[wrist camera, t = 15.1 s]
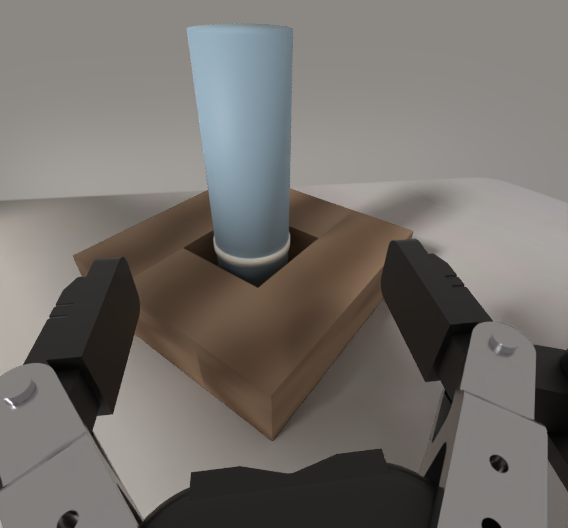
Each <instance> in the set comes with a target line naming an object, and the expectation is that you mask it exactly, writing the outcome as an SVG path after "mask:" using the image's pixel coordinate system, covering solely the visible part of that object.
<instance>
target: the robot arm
mask: <svg viewBox="0 0 568 528" xmlns="http://www.w3.org/2000/svg"><path fill="white" fill-rule="evenodd" d="M381 291H382V295H383V297H384V300H385V302H386V304H387V306H388V308H389V310H390V312H391V314H392V316H393V318H394V320H395V322H396V324H397V326H398V328H399V330H400V332H401V334H402V336H403V338H404V340H405V342H406V344H407V346H408V348H409V350H410V352H411V354H412V356H413V358H414V360H415V362H416V364H417V366H418V368H419V370H420V372H421V374H422V376H423V378H424V380H425V382H430V381H439V380H440V381H441V382H442V384H443V386H444V389H443V391H442V394H441V397H440V401H439V405H438V409H437V412H436V416H435V420H434V424H433V428H432V432H431V435H430V439H429V443H428V447H427V450H426V453H425V456H424V459H423V461H422V464H421V466H420V469H419V472H418V474H417V473H416V472H414V471H411V470H409V469H407V468H404V467H402V466H398V465H395V464H391V463H386V461H385V458H384V455H383V452H382V449H374V450H366V451H358V452H350V453H342V454H336V455H334V456H331V457H329V458H327V459H324V460H322V461H320V462H318V463H315V464H313V465H311V466H308V467H306V468H304V469H301V470H299V471H297V472H294V473H289V474H287V473H280V472H273V471H267V470H260V469H254V468H247V467H241V466H238V467H231V468H223V469H215V470H207V471H199V472H191V481H190V487H189V488H187V489H185V490H183V491H181V492H179V493H177V494H175V495H174V496H172V497H170V498H169V499H168V500H166V501H165V502H163V503H162V504H161V505H159V506H158V507H157V508H156V509H155V510H154V511H153V512H152V513H150V514H149V515H148V516H147V517H146V518H145V519H143V517H142V515H141V514H140V512H139V510H138V509H137V507H136V505H135V503H134V502H133V500H132V499H131V497H130V495H129V494H128V492H127V490H126V489H125V487H124V485H123V483H122V481H121V480H120V478H119V476H118V474H117V473H116V471H115V469H114V467H113V465H112V464H111V462H110V460H109V458H108V457H107V455H106V453H105V451H104V449H103V448H102V446H101V444H100V442H99V441H98V439H97V437H96V435H95V433H94V432H93V427H94V424H95V420H96V417H97V416H100V415H110V414H113V412H114V408H115V404H116V401H117V397H118V393H119V389H120V386H121V382H122V378H123V375H124V371H125V367H126V363H127V360H128V356H129V352H130V348H131V345H132V341H133V337H134V334H135V330H136V326H137V322H138V319H139V314H140V300H139V295H138V292H137V289H136V286H135V283H134V280H133V277H132V274H131V271H130V268H129V265H128V262H127V260H126V259H125V258H124V257H115V258H100V259H95V260H94V262H93V264H92V266H91V268H90V270H89V272H88V274H87V276H86V277H77V278H76V279H75V280H74V281H73V282H72V283H71V284H70V285H69V286H67V287H66V288H65V289H64V290H63V292H62V294H61V295H60V297H59V299H58V301H57V303H56V307H54V308H53V310H52V312H51V314H50V316H49V317H50V319H48V320H47V321H46V323H45V325H44V327H43V329H42V331H41V333H40V334H39V336H38V338H37V340H36V342H35V344H34V346H33V347H32V349H31V351H30V353H29V355H28V357H27V359H26V360H25V362H24V364H23V365H22V366H19V367H16V368H14V369H12V370H10V371H8V372H6V373H4V374H3V375H2V376H0V519H1V523H2V526H3V528H548V460H549V462H550V463H551V465H552V467H553V468H554V470H555V472H556V473H557V475H558V476H559V478H560V480H561V481H562V483H563V485H564V486H565V488H566V489H567V491H568V349H567V350H562V349H556V348H550V347H544V346H538V345H533V344H532V343H531V341H530V340H529V339H528V338H527V337H526V336H525V335H524V334H522V333H521V332H520V331H518V330H516V329H515V328H513V327H511V326H508V325H506V324H502V323H498V322H493V320H492V319H491V318H490V317H489V315H488V314H487V313H486V312H485V310H484V309H483V308H482V306H481V305H480V304H479V303H478V301H477V300H476V299H475V298H474V296H473V295H472V294H471V292H470V291H469V290H468V289H467V287H464V283H463V282H462V281H461V280H460V278H459V277H457V275H456V273H455V272H454V271H453V269H452V268H451V267H450V266H449V264H448V263H447V262H445V261H444V260H442V259H441V258H439V257H438V256H436V255H435V254H428V253H427V251H426V250H425V249H424V247H423V246H422V245H421V243H420V242H419V241H418V240H417V239H405V240H392V241H391V242H390V243H389V246H388V249H387V254H386V258H385V263H384V267H383V271H382V276H381Z"/></svg>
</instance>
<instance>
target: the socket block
mask: <svg viewBox="0 0 568 528" xmlns="http://www.w3.org/2000/svg"><path fill="white" fill-rule="evenodd" d="M289 233H290V248H289V251H288V264H287V265H285V266H284V267H283V268H282V269H280V270H279V271H278V272H277V273H276V274H274V275H273V276H272V277H271V278H269V279H268V280H267V281H266V282H265V283H263V284H262V285H261V286H260V287H259V288H257V287H255V286H253V285H252V284H250V283H248V282H246V281H244V280H242V279H240V278H238V277H237V276H235V275H233V274H231V273H229V272H227V271H225V270H223V269H222V268H220V267H218V260H217V254H216V252H215V249H214V241H213V238H214V230H213V222H212V215H211V207H210V200H209V192H208V190H207V191H205V192H203V193H201V194H199V195H197V196H195V197H193V198H190V199H188V200H186V201H184V202H182V203H180V204H178V205H176V206H174V207H172V208H170V209H168V210H166V211H164V212H162V213H160V214H158V215H156V216H154V217H151V218H149V219H147V220H145V221H143V222H141V223H139V224H137V225H135V226H133V227H131V228H129V229H127V230H125V231H123V232H121V233H119V234H117V235H115V236H112V237H110V238H108V239H106V240H104V241H102V242H100V243H98V244H96V245H94V246H92V247H90V248H88V249H86V250H84V251H82V252H80V253H78V254H75V255H73V257H74V260H75V262H76V264H77V266H78V269H79V271H80V273H81V275H82V277H86V276H87V274H88V272H89V270H90V268H91V266H92V264H93V262H94V260H95V259H100V258H115V257H124V258H125V259H126V260H127V262H128V265H129V268H130V271H131V274H132V277H133V280H134V283H135V286H136V289H137V292H138V295H139V300H140V314H139V319H138V322H137V326H136V330H135V334H136V335H137V336H138V337H139V338H141V339H142V340H143V341H145V342H146V343H147V344H148V345H150V346H151V347H152V348H154V349H155V350H156V351H157V352H159V353H160V354H161V355H162V356H164V357H165V358H166V359H168V360H169V361H170V362H171V363H173V364H174V365H175V366H177V367H178V368H179V369H180V370H182V371H183V372H184V373H186V374H187V375H188V376H189V377H191V378H192V379H193V380H195V381H196V382H197V383H198V384H200V385H201V386H202V387H204V388H205V389H206V390H207V391H209V392H210V393H211V394H213V395H214V396H215V397H216V398H218V399H219V400H220V401H222V402H223V403H224V404H225V405H227V406H228V407H229V408H231V409H232V410H233V411H234V412H236V413H237V414H238V415H240V416H241V417H242V418H243V419H245V420H246V421H247V422H249V423H250V424H251V425H252V426H254V427H255V428H256V429H258V430H259V431H260V432H261V433H263V434H264V435H265V436H267V437H268V438H269V439H270V440H272V441H273V440H274V438H275V437H276V436H277V434H278V433H279V432H280V431H281V429H282V428H283V427H284V425H285V424H286V423H287V422H288V420H289V419H290V418H291V416H292V415H293V414H294V413H295V411H296V410H297V409H298V407H299V406H300V405H301V403H302V402H303V401H304V400H305V398H306V397H307V396H308V394H309V393H310V392H311V391H312V389H313V388H314V387H315V385H316V384H317V383H318V382H319V380H320V379H321V378H322V376H323V375H324V374H325V373H326V371H327V370H328V369H329V367H330V366H331V365H332V364H333V362H334V361H335V360H336V358H337V357H338V356H339V355H340V353H341V352H342V351H343V349H344V348H345V347H346V345H347V344H348V343H349V342H350V340H351V339H352V338H353V336H354V335H355V334H356V333H357V331H358V330H359V329H360V327H361V326H362V325H363V324H364V322H365V321H366V320H367V318H368V317H369V316H370V315H371V313H372V312H373V311H374V309H375V308H376V307H377V306H378V304H379V303H380V302H381V300H382V299H383V298H384V297H383V295H382V291H381V276H382V271H383V267H384V263H385V258H386V254H387V249H388V246H389V243H390V242H391V241H392V240H405V239H411V238H412V234H413V231H411V230H408V229H406V228H403V227H400V226H397V225H394V224H391V223H388V222H385V221H382V220H380V219H377V218H374V217H371V216H368V215H365V214H362V213H359V212H356V211H353V210H351V209H348V208H345V207H342V206H339V205H336V204H333V203H330V202H327V201H324V200H322V199H319V198H316V197H313V196H310V195H307V194H304V193H301V192H298V191H296V190H293V189H290V197H289Z"/></svg>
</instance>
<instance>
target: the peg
mask: <svg viewBox="0 0 568 528" xmlns="http://www.w3.org/2000/svg"><path fill="white" fill-rule="evenodd" d="M187 35H188V42H189V50H190V56H191V64H192V72H193V80H194V87H195V94H196V102H197V110H198V117H199V125H200V131H201V139H202V147H203V155H204V162H205V169H206V177H207V185H208V192H209V200H210V207H211V215H212V222H213V230H214V238H213V241H214V249H215V252H216V254H217V260H218V267H220V268H222V269H223V270H225V271H227V272H229V273H231V274H233V275H235V276H237V277H238V278H240V279H242V280H244V281H246V282H248V283H250V284H252V285H253V286H255V287H257V288H259V287H260V286H261V285H262V284H263V283H265V282H266V281H267V280H268V279H269V278H271V277H272V276H273V275H274V274H276V273H277V272H278V271H279V270H280V269H282V268H283V267H284V266H285V265H287V264H288V251H289V248H290V233H289V197H290V148H291V146H290V145H291V99H292V98H291V97H292V50H293V29H292V28H290V27H286V26H278V25H267V24H266V25H265V24H212V25H200V26H193V27H189V28H187Z"/></svg>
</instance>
